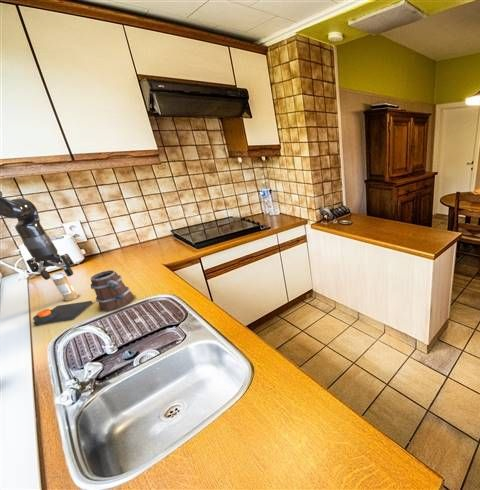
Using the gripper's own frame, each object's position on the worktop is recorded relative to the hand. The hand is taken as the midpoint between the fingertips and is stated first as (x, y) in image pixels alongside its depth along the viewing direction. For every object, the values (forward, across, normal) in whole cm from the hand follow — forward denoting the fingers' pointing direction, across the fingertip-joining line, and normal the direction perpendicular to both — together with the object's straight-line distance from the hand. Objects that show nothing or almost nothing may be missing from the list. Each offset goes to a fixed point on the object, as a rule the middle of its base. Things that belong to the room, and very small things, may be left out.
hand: (59, 277), depth 121 cm
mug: (+12, -27, +14) cm, 32 cm away
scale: (+12, -7, +14) cm, 20 cm away
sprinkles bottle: (+12, 0, 0) cm, 12 cm away
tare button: (+9, -3, +18) cm, 20 cm away
